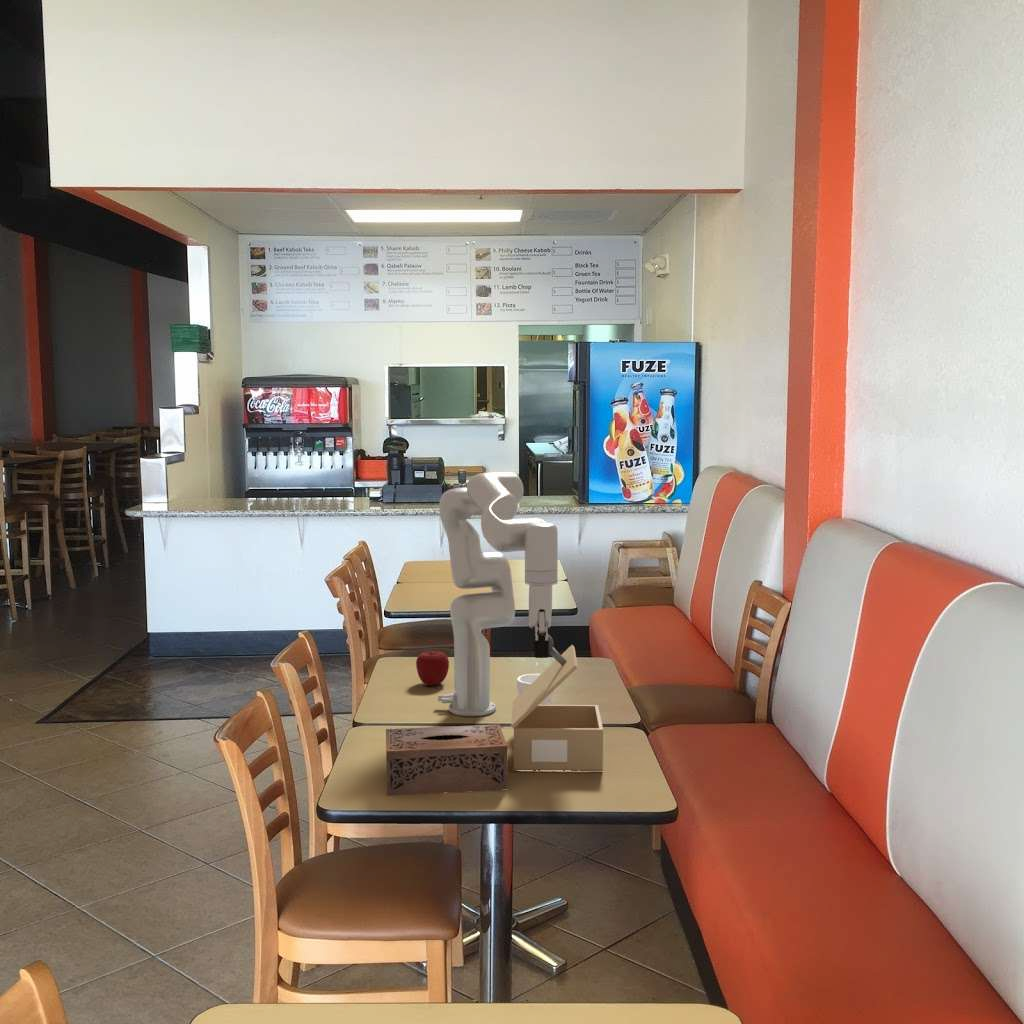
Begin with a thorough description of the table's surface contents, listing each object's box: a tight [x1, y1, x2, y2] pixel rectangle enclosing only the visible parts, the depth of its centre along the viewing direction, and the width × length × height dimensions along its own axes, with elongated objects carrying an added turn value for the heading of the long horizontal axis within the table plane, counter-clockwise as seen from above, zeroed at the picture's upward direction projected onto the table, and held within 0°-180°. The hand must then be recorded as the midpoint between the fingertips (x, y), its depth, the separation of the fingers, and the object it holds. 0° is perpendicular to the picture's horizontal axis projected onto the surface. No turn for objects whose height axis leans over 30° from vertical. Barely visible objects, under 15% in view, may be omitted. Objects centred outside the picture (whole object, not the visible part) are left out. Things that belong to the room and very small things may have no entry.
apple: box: [415, 650, 450, 687], centre depth 298 cm, size 10×10×10 cm
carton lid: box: [510, 634, 579, 729], centre depth 236 cm, size 20×18×10 cm
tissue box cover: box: [385, 724, 508, 797], centre depth 224 cm, size 26×14×10 cm, turn 97°
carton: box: [513, 704, 604, 772], centre depth 237 cm, size 20×18×10 cm
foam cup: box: [516, 673, 554, 705], centre depth 258 cm, size 10×9×13 cm
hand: (541, 653), depth 235 cm, fingers closed on carton lid, 4 cm apart
